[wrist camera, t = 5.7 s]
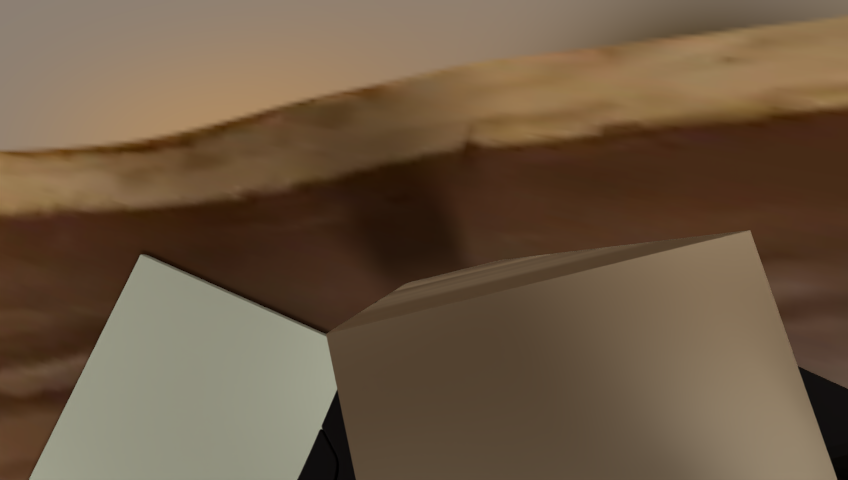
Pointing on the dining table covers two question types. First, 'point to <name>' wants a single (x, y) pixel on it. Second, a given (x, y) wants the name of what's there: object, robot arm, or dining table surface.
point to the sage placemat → (192, 388)
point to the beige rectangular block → (581, 371)
